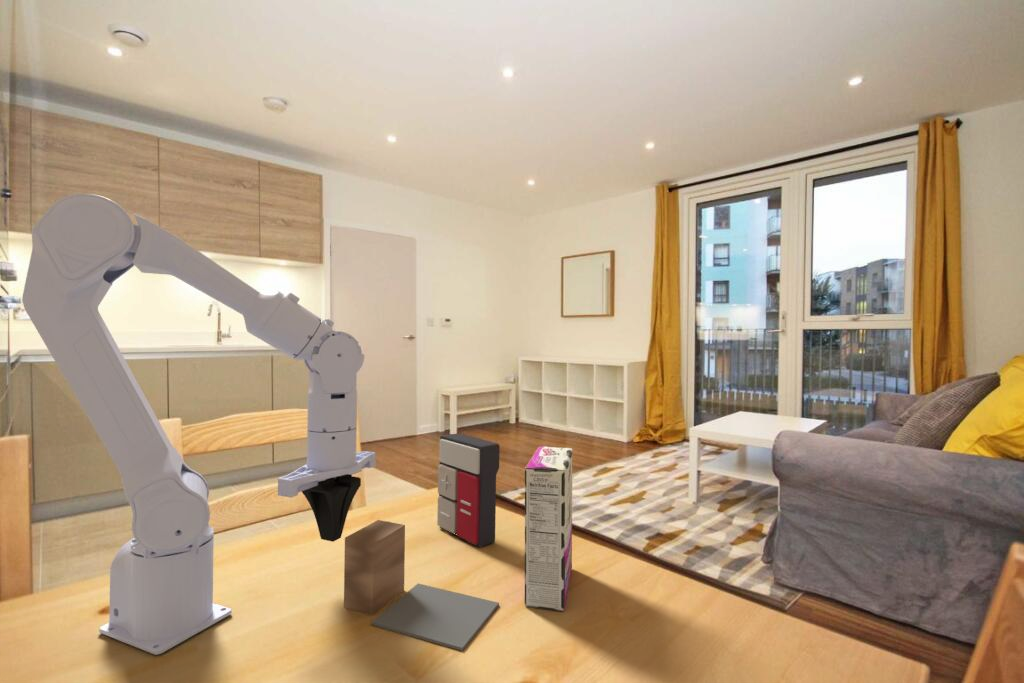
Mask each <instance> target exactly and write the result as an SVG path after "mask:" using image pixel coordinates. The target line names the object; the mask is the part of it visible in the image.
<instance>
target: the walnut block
mask: <svg viewBox="0 0 1024 683" xmlns="http://www.w3.org/2000/svg"><path fill="white" fill-rule="evenodd" d="M405 546H406V525H405V524H402V523H397V522H391V521H386V520H380V519H377V520H375V521H374V522H372V523H370V524H368V525H366V526H364V527H362V528H360V529H359V530H356V531H355V532H353V533H351V534H349V535H347V536H345V537H344V566H343V568H344V570H343V571H344V574H343V575H344V577H343V581H344V582H343V608H344V609H347V610H351V611H355V612H358V613H362V614H365V615H368V616H371V617H372V616H374V615H376V614H377V613H378V612H379V611H380V610H382V609H383V608H384V607H385V606H386V605H387V604H389V603H390V602H391V601H393V600H394V599H395V598H396V597H398V596H399V595H400V594H401V593H403V591H405V557H406V556H405V552H406V550H405V549H406V547H405Z"/></svg>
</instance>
